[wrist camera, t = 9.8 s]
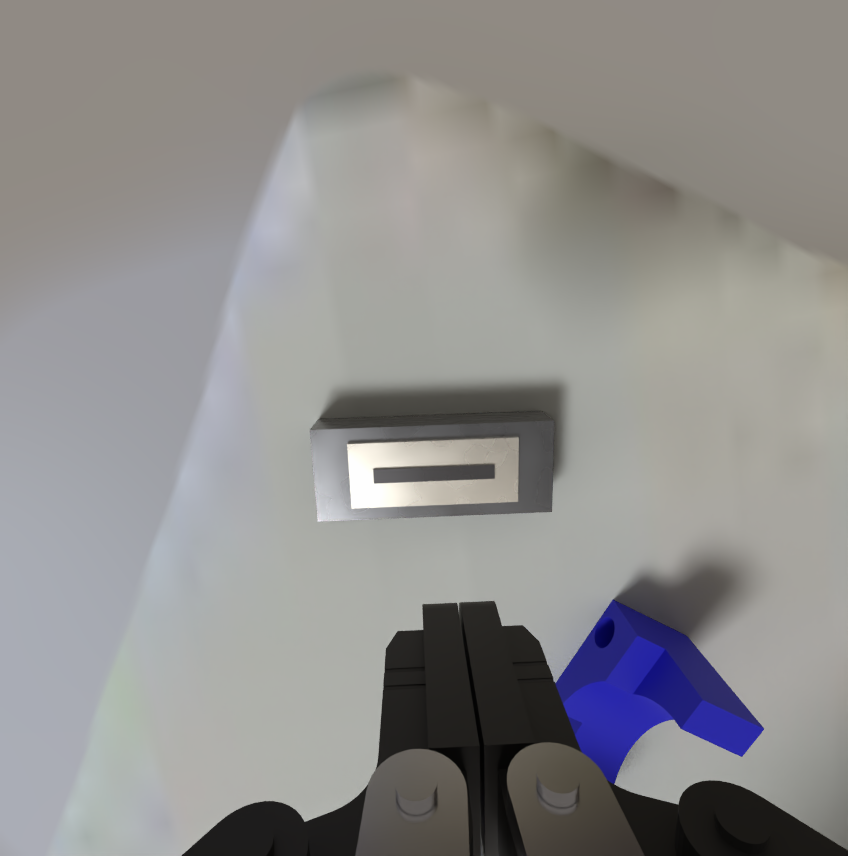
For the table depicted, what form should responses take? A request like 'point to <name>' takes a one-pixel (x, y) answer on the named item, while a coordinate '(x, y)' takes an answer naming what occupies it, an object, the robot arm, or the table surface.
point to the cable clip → (646, 690)
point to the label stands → (433, 465)
